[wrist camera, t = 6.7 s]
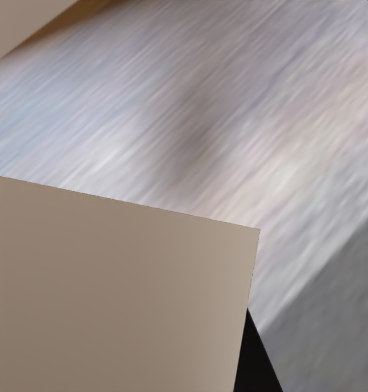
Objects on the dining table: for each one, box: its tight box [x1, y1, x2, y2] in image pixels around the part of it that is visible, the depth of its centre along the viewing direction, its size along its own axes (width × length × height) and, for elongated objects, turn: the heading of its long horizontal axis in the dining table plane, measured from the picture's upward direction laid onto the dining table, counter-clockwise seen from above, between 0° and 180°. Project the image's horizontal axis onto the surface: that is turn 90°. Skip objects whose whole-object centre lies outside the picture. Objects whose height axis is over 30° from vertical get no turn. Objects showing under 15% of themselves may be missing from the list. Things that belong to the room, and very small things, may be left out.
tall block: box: [0, 176, 260, 392], centre depth 10 cm, size 5×5×13 cm
